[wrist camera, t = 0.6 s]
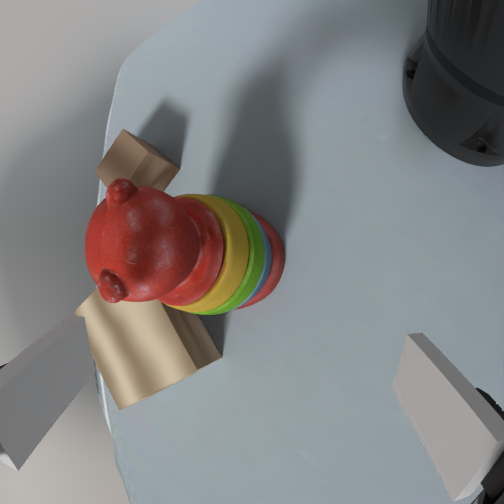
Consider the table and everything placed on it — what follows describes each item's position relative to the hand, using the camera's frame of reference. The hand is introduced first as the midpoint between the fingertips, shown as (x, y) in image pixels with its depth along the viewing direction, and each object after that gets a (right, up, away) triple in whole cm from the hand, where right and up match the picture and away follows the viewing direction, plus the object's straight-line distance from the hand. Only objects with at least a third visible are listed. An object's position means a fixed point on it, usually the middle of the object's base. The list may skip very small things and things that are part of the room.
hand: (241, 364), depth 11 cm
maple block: (-11, -5, +23) cm, 26 cm away
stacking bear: (-1, +4, +20) cm, 20 cm away
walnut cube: (-12, +13, +25) cm, 30 cm away
